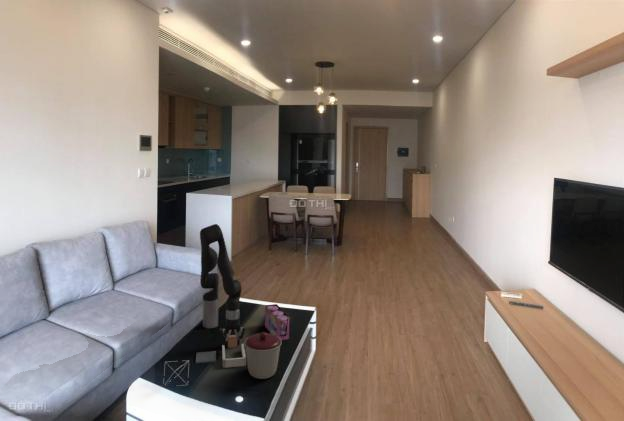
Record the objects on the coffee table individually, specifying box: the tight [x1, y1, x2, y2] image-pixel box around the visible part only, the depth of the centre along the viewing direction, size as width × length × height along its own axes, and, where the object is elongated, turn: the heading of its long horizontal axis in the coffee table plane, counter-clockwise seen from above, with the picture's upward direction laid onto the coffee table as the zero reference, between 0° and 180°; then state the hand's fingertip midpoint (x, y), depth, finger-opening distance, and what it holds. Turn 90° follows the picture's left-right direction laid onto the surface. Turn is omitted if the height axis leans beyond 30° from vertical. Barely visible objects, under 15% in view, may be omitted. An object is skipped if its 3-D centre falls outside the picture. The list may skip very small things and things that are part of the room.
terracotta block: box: [227, 335, 238, 349], centre depth 224 cm, size 5×5×5 cm
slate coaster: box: [195, 350, 217, 364], centre depth 209 cm, size 10×10×1 cm
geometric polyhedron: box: [162, 359, 190, 387], centre depth 185 cm, size 12×11×9 cm
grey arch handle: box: [221, 343, 247, 369], centre depth 209 cm, size 16×11×4 cm
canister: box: [243, 331, 283, 380], centre depth 195 cm, size 18×18×21 cm
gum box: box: [264, 303, 290, 341], centre depth 242 cm, size 24×8×14 cm, turn 25°
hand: (232, 345), depth 223 cm, fingers closed on terracotta block, 5 cm apart
